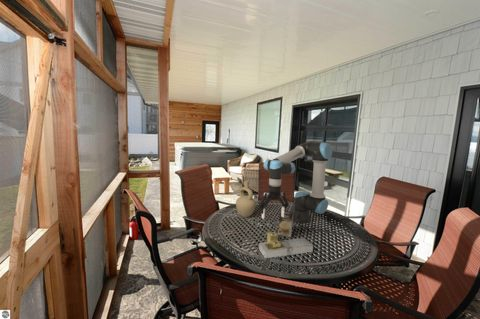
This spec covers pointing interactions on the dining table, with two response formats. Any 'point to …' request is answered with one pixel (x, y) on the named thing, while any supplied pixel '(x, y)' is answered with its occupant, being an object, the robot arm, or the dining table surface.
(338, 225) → the dining table surface
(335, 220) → the dining table surface
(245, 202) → the vase
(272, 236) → the gold knobbed block
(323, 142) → the robot arm
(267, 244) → the grey slotted tray
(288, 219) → the coffee box
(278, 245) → the drawer with knob
